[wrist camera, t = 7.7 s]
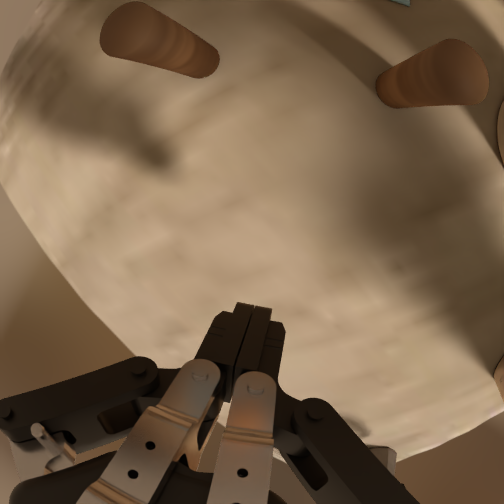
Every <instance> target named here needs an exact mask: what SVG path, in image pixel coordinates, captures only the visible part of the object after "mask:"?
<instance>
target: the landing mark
mask: <svg viewBox="0 0 504 504" xmlns="http://www.w3.org/2000/svg"><path fill="white" fill-rule="evenodd" d="M391 1H395V2H398V3H400V4H403V5H406V6H410V0H391Z"/></svg>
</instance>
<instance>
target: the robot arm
mask: <svg viewBox="0 0 504 504" xmlns="http://www.w3.org/2000/svg"><path fill="white" fill-rule="evenodd" d="M271 314H272V309H271V308H266V307H261V306H255V308H254V305H250V304H245V303H240V302H237V304H236V306H235V309H234V311H233V313H231V312H226V311H222V312H221V313H220V314H218V315H217V316H216V317H215V318H214V320H213V322H212V324H211V326H210V328H209V330H208V332H207V334H206V336H205V338H204V340H203V342H202V344H201V346H200V348H199V350H198V352H197V354H196V356H195V358H194V359H193V360H191V361H188V362H187V363H185V364H184V365H183V366H182V368H177V369H162V368H157V365H156V364H155V362H154V361H152V360H151V359H149V358H147V357H141V356H137V357H133V358H129V359H127V360H124V361H121V362H118V363H116V364H113V365H110V366H107V367H104V368H101V369H98V370H96V371H93V372H90V373H87V374H84V375H81V376H78V377H75V378H72V379H68V380H65V381H62V382H59V383H56V384H53V385H50V386H47V387H43V388H40V389H36V390H33V391H29V392H26V393H22V394H19V395H15V396H11V397H8V398H4V399H2V400H0V430H1V431H2V432H3V433H4V434H5V435H6V437H7V438H8V439H9V441H10V445H11V449H12V454H13V458H14V461H15V465H16V468H17V472H18V475H19V478H20V481H21V483H19V484H18V485H17V486H16V487H15V488H14V489H13V491H12V493H11V495H10V500H9V504H287V503H286V502H285V501H284V500H283V499H282V498H281V497H280V496H278V495H277V494H276V493H274V492H272V491H271V490H269V483H270V474H271V465H272V457H273V447H275V448H277V449H279V451H280V454H281V455H282V457H283V458H284V460H285V461H286V462H287V464H288V465H289V467H290V468H291V470H292V471H293V472H294V474H295V475H296V477H297V478H298V479H299V481H300V482H301V483H302V485H303V486H304V487H305V489H306V490H307V492H308V493H309V494H310V496H311V497H312V498H313V500H314V501H315V502H316V503H317V504H420V503H419V502H418V501H417V500H416V499H415V498H414V497H413V496H412V495H411V494H410V493H409V492H408V491H407V490H406V489H405V488H404V486H403V485H402V484H401V483H400V482H399V481H398V480H397V479H396V478H395V477H394V476H393V475H392V474H391V473H390V471H389V470H388V469H387V468H386V467H385V466H384V465H383V464H382V463H381V462H380V461H379V459H378V458H377V457H376V456H375V455H374V454H373V453H372V452H371V451H370V449H369V448H368V447H367V446H366V445H365V444H364V443H363V442H362V440H361V439H360V438H359V437H358V436H357V435H356V434H355V433H354V431H353V430H352V429H351V428H350V427H349V426H348V425H347V423H346V422H345V421H344V420H343V419H342V418H341V416H340V415H339V414H338V413H337V412H336V411H335V409H334V408H333V407H332V406H331V405H330V404H329V403H328V402H326V401H324V400H322V399H318V398H307V399H304V400H302V401H300V400H297V399H295V398H293V397H291V396H289V395H287V394H286V393H285V392H284V391H283V390H282V389H281V388H280V386H279V383H278V374H279V368H280V363H281V357H282V351H283V345H284V339H285V333H286V331H285V329H284V326H283V324H282V323H281V322H276V321H271V320H270V319H271ZM494 380H495V382H496V384H497V387H498V389H499V392H500V394H501V397H502V399H503V402H504V357H503V358H502V359H501V361H500V362H499V364H498V366H497V368H496V370H495V373H494ZM231 398H232V401H231ZM230 401H231V406H230V410H229V415H228V420H227V424H226V428H225V431H224V433H223V436H222V440H221V445H220V449H219V453H218V458H217V462H216V466H215V471H214V473H203V472H196V471H197V468H198V465H199V462H200V457H201V454H202V452H203V450H204V448H205V445H206V443H207V441H208V439H209V437H210V434H211V433H212V430H213V428H214V426H215V424H216V422H217V420H218V417H219V413H220V411H221V408H222V405H223V402H228V403H230ZM126 436H127V438H126V439H125V441H124V442H123V444H122V445H121V447H120V448H119V450H118V451H113V452H109V453H106V454H103V455H101V456H98V457H96V458H93V459H90V460H88V461H85V462H82V463H79V464H77V465H74V464H75V459H76V454H79V453H82V452H85V451H88V450H91V449H94V448H97V447H100V446H103V445H105V444H108V443H111V442H114V441H116V440H119V439H121V438H124V437H126Z"/></svg>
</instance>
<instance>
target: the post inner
mask: <svg viewBox="0 0 504 504" xmlns="http://www.w3.org/2000/svg"><path fill="white" fill-rule="evenodd" d="M488 89H489V77H488V72H487V69H486V67H485V64H484V62H483V60H482V59H481V57H480V56H479V55H478V53H477V52H476V51H475V50H474V49H473V48H472V47H471V46H469V45H468V44H466V43H465V42H463V41H460V40H457V39H446V40H444V41H442V42H440V43H438V44H436V45H434V46H432V47H430V48H428V49H426V50H424V51H422V52H420V53H418V54H416V55H414V56H412V57H410V58H409V59H407V60H405V61H403V62H401V63H399V64H398V65H396V66H394V67H392V68H390V69H389V70H387V71H385V72H383V73H382V74H381V75H380V76H379V77H378V79H377V81H376V91H377V94H378V96H379V98H380V99H381V101H382V102H383V103H385V104H386V105H387V106H389V107H392V108H409V107H422V106H442V105H475V104H478V103H480V102H482V101H483V100H484V99H485V97H486V95H487V93H488Z"/></svg>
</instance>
